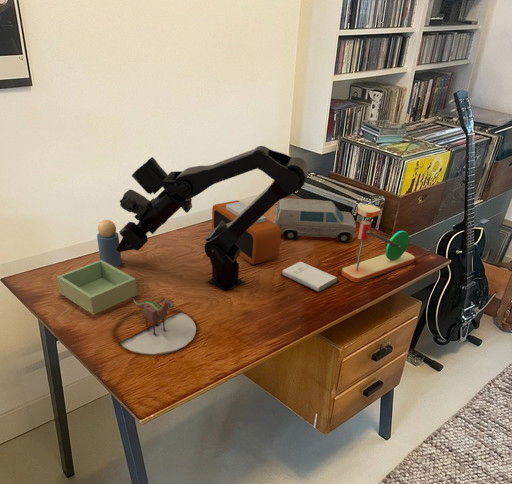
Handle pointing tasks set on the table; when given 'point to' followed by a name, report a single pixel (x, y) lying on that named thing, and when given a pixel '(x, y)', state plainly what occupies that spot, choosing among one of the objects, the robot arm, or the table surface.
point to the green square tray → (97, 286)
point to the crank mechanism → (384, 262)
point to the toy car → (313, 219)
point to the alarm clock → (250, 233)
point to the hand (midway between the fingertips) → (124, 243)
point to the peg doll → (108, 243)
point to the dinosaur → (161, 330)
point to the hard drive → (309, 276)
